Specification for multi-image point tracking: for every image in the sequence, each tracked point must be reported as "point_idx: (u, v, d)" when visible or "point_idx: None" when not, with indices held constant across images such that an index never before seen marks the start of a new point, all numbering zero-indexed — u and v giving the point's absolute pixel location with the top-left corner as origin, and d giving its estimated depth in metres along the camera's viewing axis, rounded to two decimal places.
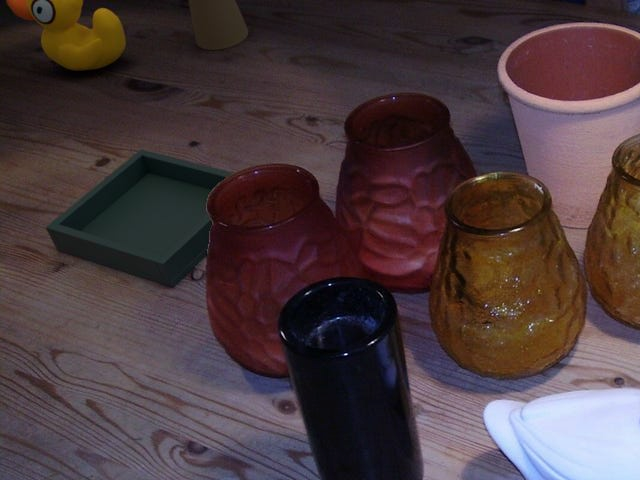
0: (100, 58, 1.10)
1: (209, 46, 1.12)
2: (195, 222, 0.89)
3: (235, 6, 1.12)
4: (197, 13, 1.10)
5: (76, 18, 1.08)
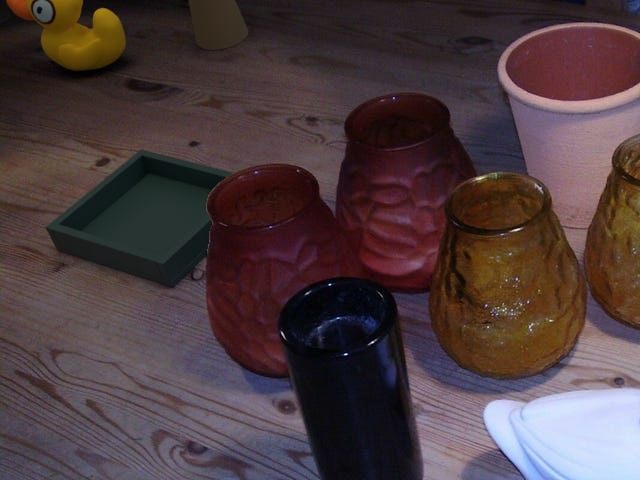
0: (100, 58, 1.10)
1: (209, 46, 1.12)
2: (195, 222, 0.89)
3: (235, 6, 1.12)
4: (197, 13, 1.10)
5: (76, 18, 1.08)
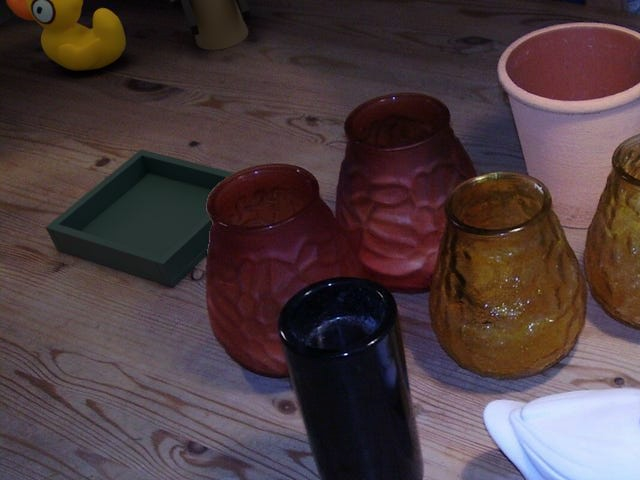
0: (100, 58, 1.10)
1: (209, 46, 1.12)
2: (195, 222, 0.89)
3: (235, 6, 1.12)
4: (197, 13, 1.10)
5: (76, 18, 1.08)
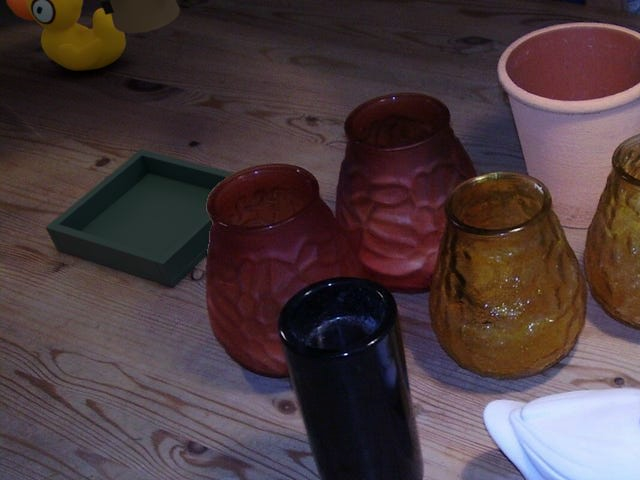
0: (100, 58, 1.10)
1: (128, 28, 0.88)
2: (195, 222, 0.89)
3: None
4: None
5: (76, 18, 1.08)
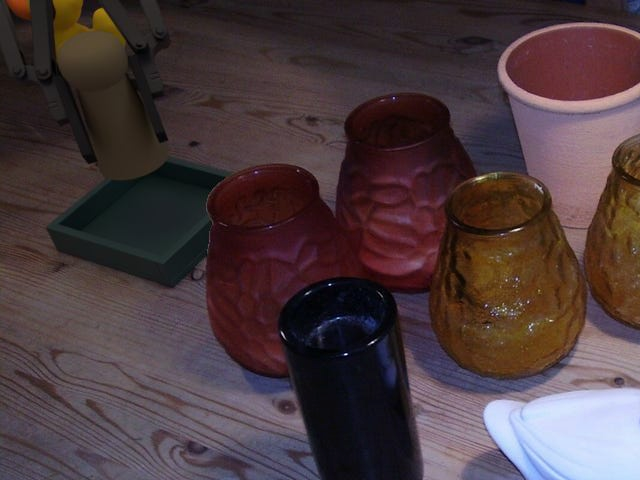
0: None
1: (114, 175, 0.83)
2: (195, 222, 0.89)
3: (148, 122, 0.82)
4: (95, 134, 0.81)
5: (76, 18, 1.08)
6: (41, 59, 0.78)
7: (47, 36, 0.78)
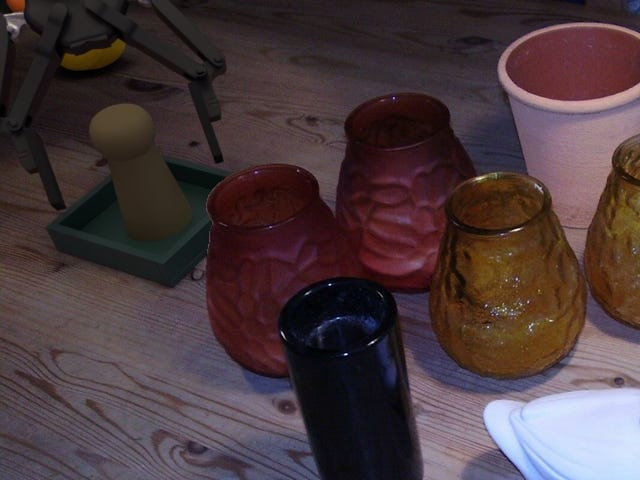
0: (100, 58, 1.10)
1: (140, 237, 0.87)
2: (195, 222, 0.89)
3: (173, 187, 0.87)
4: (124, 199, 0.85)
5: None
6: (17, 112, 0.81)
7: (33, 95, 0.82)
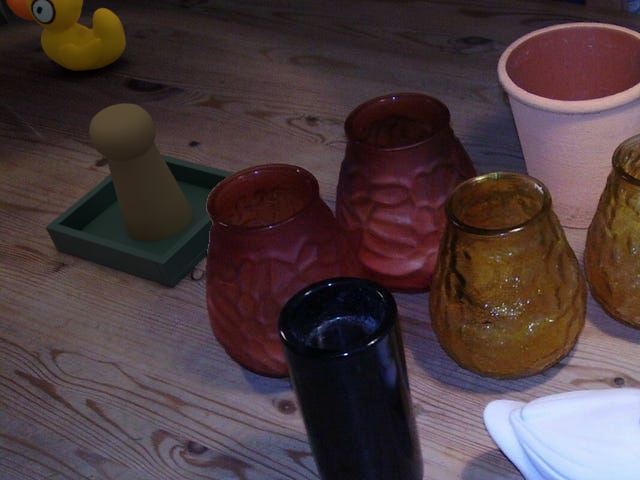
0: (100, 58, 1.10)
1: (140, 237, 0.87)
2: (195, 222, 0.89)
3: (173, 187, 0.87)
4: (124, 199, 0.85)
5: (76, 18, 1.08)
6: None
7: None
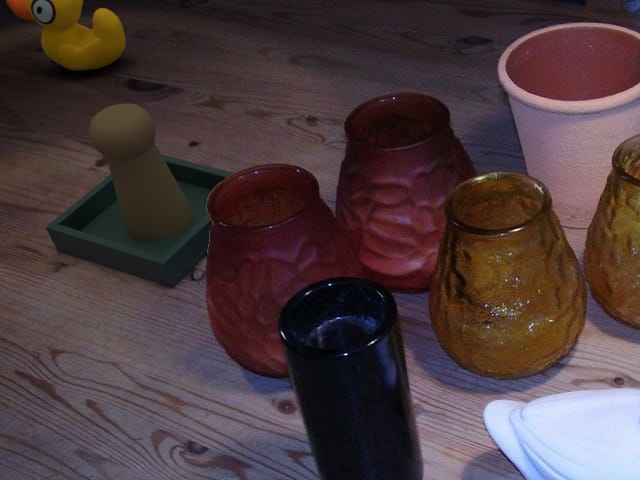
0: (100, 58, 1.10)
1: (140, 237, 0.87)
2: (195, 222, 0.89)
3: (173, 187, 0.87)
4: (124, 199, 0.85)
5: (76, 18, 1.08)
6: None
7: None
